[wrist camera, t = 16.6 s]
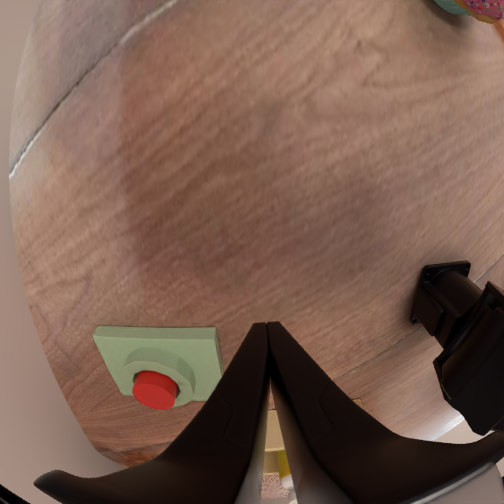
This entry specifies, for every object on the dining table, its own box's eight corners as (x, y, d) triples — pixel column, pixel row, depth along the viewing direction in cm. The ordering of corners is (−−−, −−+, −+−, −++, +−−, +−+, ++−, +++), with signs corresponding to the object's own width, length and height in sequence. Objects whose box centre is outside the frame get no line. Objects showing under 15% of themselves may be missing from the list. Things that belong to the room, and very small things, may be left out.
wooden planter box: (359, 398, 29) (371, 432, 24) (345, 433, 33) (353, 462, 28) (233, 411, 29) (232, 449, 24) (240, 444, 33) (240, 475, 28)
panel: (216, 326, 24) (212, 354, 21) (227, 389, 28) (225, 414, 24) (98, 325, 24) (84, 347, 21) (126, 384, 28) (118, 406, 24)
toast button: (172, 370, 22) (168, 385, 21) (182, 397, 24) (179, 411, 22) (131, 368, 22) (125, 381, 21) (144, 394, 24) (140, 407, 22)
